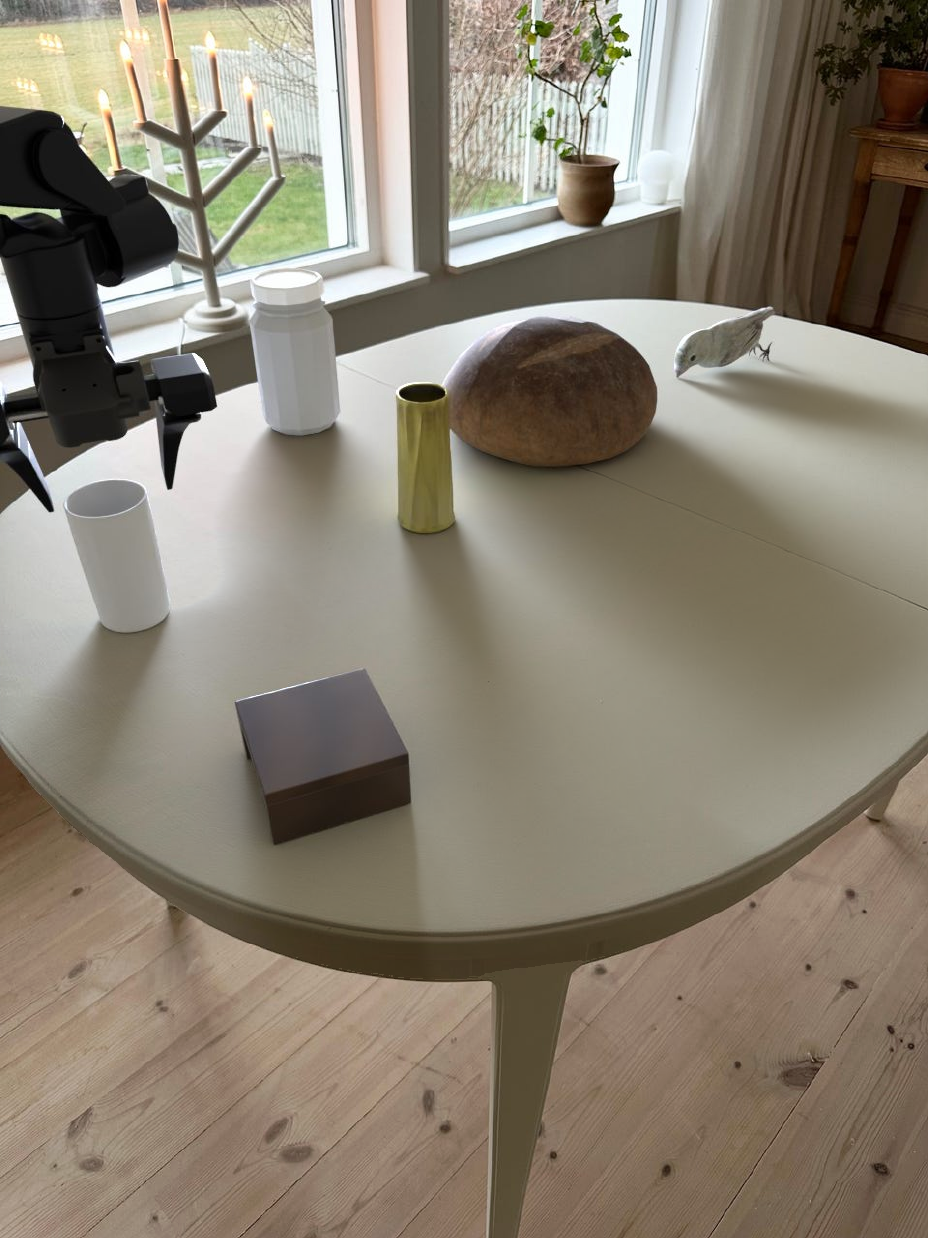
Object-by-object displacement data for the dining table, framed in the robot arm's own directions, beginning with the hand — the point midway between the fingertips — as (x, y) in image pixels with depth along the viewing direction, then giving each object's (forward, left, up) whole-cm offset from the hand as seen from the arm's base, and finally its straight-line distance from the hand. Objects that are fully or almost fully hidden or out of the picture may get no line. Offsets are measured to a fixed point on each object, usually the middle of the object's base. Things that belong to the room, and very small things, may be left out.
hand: (111, 498), depth 75 cm
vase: (+30, +8, -13) cm, 34 cm away
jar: (+24, +37, -13) cm, 46 cm away
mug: (-1, +4, -13) cm, 14 cm away
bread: (+52, +24, -13) cm, 59 cm away
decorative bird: (+84, +32, -13) cm, 91 cm away
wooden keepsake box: (+10, -24, -13) cm, 29 cm away
